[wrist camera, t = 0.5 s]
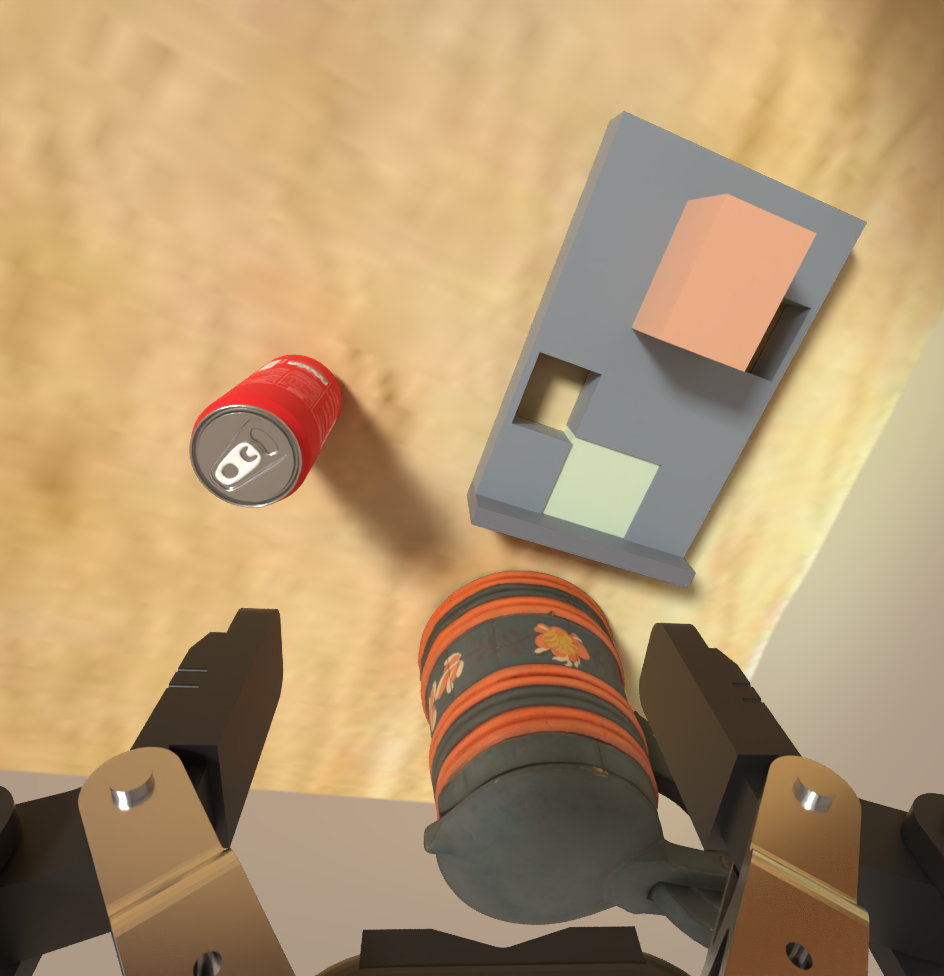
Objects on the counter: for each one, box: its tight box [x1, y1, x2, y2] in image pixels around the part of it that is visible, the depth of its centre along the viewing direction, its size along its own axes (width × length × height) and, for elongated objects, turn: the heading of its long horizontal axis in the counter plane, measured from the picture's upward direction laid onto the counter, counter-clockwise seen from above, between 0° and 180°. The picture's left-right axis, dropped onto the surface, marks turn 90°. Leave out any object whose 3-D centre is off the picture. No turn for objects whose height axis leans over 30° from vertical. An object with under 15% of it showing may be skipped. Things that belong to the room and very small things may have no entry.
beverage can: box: [190, 355, 342, 508], centre depth 31 cm, size 5×5×12 cm
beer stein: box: [418, 571, 734, 949], centre depth 36 cm, size 19×15×20 cm
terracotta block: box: [632, 194, 817, 372], centre depth 31 cm, size 7×5×4 cm
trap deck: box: [467, 111, 867, 588], centre depth 35 cm, size 23×15×4 cm, turn 160°
